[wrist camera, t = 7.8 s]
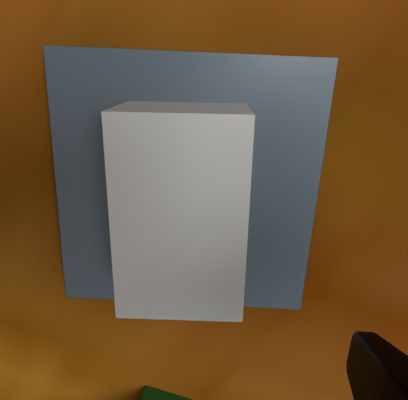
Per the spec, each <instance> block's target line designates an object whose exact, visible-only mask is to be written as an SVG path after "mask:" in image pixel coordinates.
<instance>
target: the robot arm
mask: <svg viewBox="0 0 408 400" xmlns="http://www.w3.org/2000/svg"><path fill="white" fill-rule="evenodd" d="M347 375H348V379H349V382H350V386H351V390H352V394H353V398H354V400H408V356H407V355H406V354H404V353H403V352H402V351H400V350H399V349H397V348H396V347H395V346H393V345H392V344H390V343H389V342H388V341H386V340H385V339H383V338H382V337H380V336H379V335H378V334H376V333H374V332H360V331H357V332H355V333H354V334H353V336H352V339H351V344H350V349H349V354H348V359H347Z"/></svg>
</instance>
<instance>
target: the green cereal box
mask: <svg viewBox="0 0 408 400" xmlns="http://www.w3.org/2000/svg"><path fill="white" fill-rule="evenodd" d="M140 400H192V399H188V398H185V397H182V396H179V395H175V394H172V393H169V392H166V391H162V390H159V389H156V388H153V387H149V386H145V388H144V391H143V393H142V396H141V398H140Z"/></svg>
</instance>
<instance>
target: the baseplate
mask: <svg viewBox="0 0 408 400" xmlns="http://www.w3.org/2000/svg"><path fill="white" fill-rule="evenodd" d="M43 50H44V61H45V72H46V83H47V94H48V105H49V116H50V127H51V138H52V149H53V160H54V171H55V181H56V192H57V203H58V214H59V225H60V236H61V247H62V258H63V269H64V280H65V291H66V297H71V298H90V299H109V300H115V299H114V285H113V271H112V257H111V243H110V228H109V214H108V200H107V186H106V172H105V158H104V144H103V130H102V116H101V111H104V110H106V109H109V108H111V107H114V106H116V105H119V104H122V103H124V102H127V101H152V102H201V103H246V104H247V105H248V107H249V108H250V109H251V110H252V111H253V113H254V114H255V126H254V142H253V159H252V175H251V191H250V208H249V224H248V241H247V257H246V273H245V290H244V306H243V307H259V308H278V309H297V310H301V303H302V296H303V290H304V283H305V276H306V270H307V263H308V256H309V250H310V243H311V236H312V230H313V223H314V216H315V210H316V203H317V196H318V190H319V183H320V176H321V170H322V163H323V156H324V150H325V143H326V136H327V129H328V123H329V116H330V109H331V103H332V96H333V89H334V83H335V76H336V69H337V63H338V58H324V57H301V56H278V55H256V54H233V53H211V52H188V51H166V50H143V49H121V48H98V47H76V46H53V45H43Z"/></svg>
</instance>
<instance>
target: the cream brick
mask: <svg viewBox="0 0 408 400" xmlns="http://www.w3.org/2000/svg"><path fill="white" fill-rule="evenodd" d="M101 116H102V130H103V144H104V158H105V172H106V186H107V200H108V214H109V228H110V243H111V257H112V271H113V285H114V299H115V313H116V318H131V319H162V320H192V321H223V322H243V306H244V290H245V273H246V257H247V241H248V224H249V208H250V191H251V175H252V159H253V142H254V126H255V114H254V113H253V111H252V110H251V109H250V108H249V107H248V105H247V104H246V103H201V102H152V101H127V102H124V103H122V104H119V105H116V106H114V107H111V108H109V109H106V110H104V111H101Z"/></svg>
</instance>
